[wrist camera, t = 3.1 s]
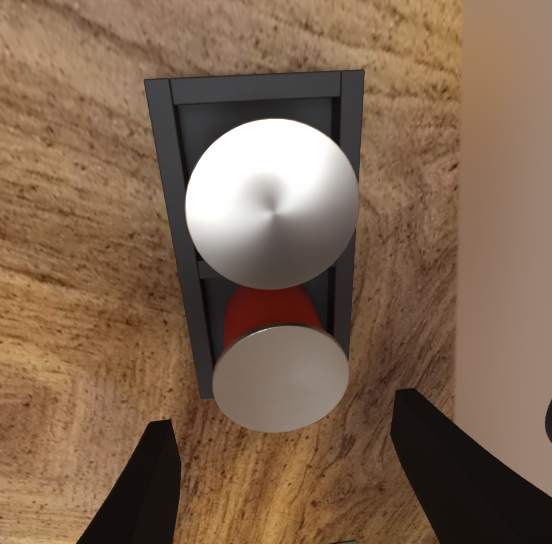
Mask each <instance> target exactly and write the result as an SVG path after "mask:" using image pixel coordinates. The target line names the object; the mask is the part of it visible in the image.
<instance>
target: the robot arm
mask: <svg viewBox="0 0 552 544" xmlns="http://www.w3.org/2000/svg"><path fill="white" fill-rule="evenodd" d="M390 435H391V438H392V441H393V444H394V447H395V450H396V452H397V455H398V458H399V460H400V463H401V465H402V468H403V470H404V472H405V474H406V476H407V478H408V480H409V482H410V484H411V486H412V488H413V490H414V492H415V494H416V496H417V498H418V500H419V502H420V504H421V506H422V508H423V510H424V512H425V514H426V516H427V518H428V520H429V522H430V524H431V526H432V528H433V530H434V532H435V534H436V536H437V538H438V540H439V542H440V544H552V497H550V496H549V495H547V494H546V493H544V492H543V491H542V490H540V489H539V488H537V487H536V486H534V485H533V484H531V483H530V482H528V481H527V480H525V479H524V478H523V477H521V476H520V475H518V474H517V473H516V472H514V471H513V470H511V469H510V468H509V467H507V466H506V465H505V464H503V463H502V462H501V461H500V460H498V459H497V458H496V457H494V456H493V455H492V454H490V453H489V452H488V451H487V450H485V449H484V448H483V447H481V446H480V445H479V444H478V443H477V442H476V441H474V440H473V439H472V438H471V437H470V436H468V435H467V434H466V433H465V432H464V431H462V430H461V429H460V428H459V427H458V426H457V425H455V424H454V423H453V422H452V421H451V420H450V419H448V418H447V417H446V416H445V415H444V414H443V413H442V412H441V411H439V410H438V409H437V408H436V407H435V406H434V405H433V404H432V403H431V402H429V401H428V400H427V399H426V398H425V397H424V396H423V395H422V394H420V393H419V392H418V391H417V390H416V389H415V388H409V389H402V390H396V394H395V402H394V409H393V417H392V424H391V432H390ZM180 481H181V460H180V456H179V451H178V447H177V443H176V439H175V435H174V431H173V426H172V422H171V419H168V420H160V421H153V422H150V423H149V424H148V425H147V427H146V429H145V431H144V433H143V435H142V437H141V439H140V441H139V443H138V445H137V447H136V448H135V450H134V452H133V454H132V456H131V458H130V459H129V461H128V463H127V465H126V467H125V468H124V470H123V472H122V473H121V475H120V477H119V478H118V480H117V482H116V483H115V485H114V487H113V488H112V490H111V492H110V493H109V495H108V497H107V498H106V500H105V501H104V503H103V504H102V506H101V507H100V509H99V510H98V512H97V513H96V515H95V517H94V518H93V520H92V521H91V523H90V524H89V526H88V527H87V529H86V530H85V532H84V533H83V534H82V536H81V537H80V539H79V540H78V541H77V543H76V544H172V543H173V537H174V530H175V524H176V518H177V511H178V505H179V497H180Z"/></svg>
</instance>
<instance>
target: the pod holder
mask: <svg viewBox="0 0 552 544" xmlns="http://www.w3.org/2000/svg"><path fill="white" fill-rule="evenodd" d="M364 75H365V71H364V70H363V69H361V70H342V71H316V72H294V73H272V74H249V75H227V76H204V77H182V78H170V79H169V78H159V79H144V85H145V91H146V97H147V102H148V108H149V113H150V119H151V124H152V130H153V136H154V141H155V147H156V152H157V158H158V163H159V169H160V175H161V180H162V186H163V191H164V197H165V202H166V208H167V213H168V219H169V225H170V230H171V236H172V241H173V247H174V252H175V258H176V264H177V269H178V275H179V280H180V286H181V291H182V297H183V303H184V308H185V314H186V319H187V325H188V330H189V336H190V341H191V347H192V353H193V358H194V364H195V369H196V375H197V380H198V386H199V392H200V397H201V399H209V398H214V394H213V387H212V380H213V372H214V368H215V365H216V363H217V361H218V359H219V357H220V355H221V354H222V352H223V351H224V313H225V308H226V305H227V302H228V300H229V299H230V297H231V295H232V294H233V293H234V292H235V291H236V290H237V289H238V288H239V287H240V286H242V285H240V284H237V283H235V282H233V281H231V280H229V279H227V278H225V277H224V276H222V275H221V274H219V273H218V272H217V271H215V270H214V269H213V268H212V267H211V266H210V265H209V264H208V263H207V262H206V261H205V260H204V259H203V258H202V256H201V255H200V254H199V252H198V251H197V249H196V247H195V245H194V244H193V242H192V240H191V237H190V234H189V232H188V228H187V224H186V219H185V194H186V189H187V184H188V181H189V178H190V175H191V172H192V170H193V168H194V166H195V164H196V162H197V160H198V159H199V158H200V156H201V155H202V153H203V152H204V150H205V149H206V148H207V147H208V146H209V145H210V144H211V143H212V142H213V141H214V140H215V139H216V138H218V137H219V136H220V135H221V134H222V133H224V132H226V131H227V130H229V129H231V128H232V127H234V126H237V125H239V124H241V123H243V122H247V121H250V120H254V119H258V118H266V117H282V118H289V119H294V120H297V121H301V122H304V123H307V124H309V125H311V126H313V127H315V128H317V129H319V130H320V131H322V132H323V133H325V134H326V135H328V136H329V137H330V138H331V139H332V140H333V141H334V142H336V143H337V144H338V146H339V147H340V148H341V149H342V150H343V152H344V153H345V155H346V156H347V158H348V159H349V161H350V163H351V165H352V167H353V170H354V172H355V175H356V179H357V182H359V164H360V146H361V128H362V110H363V93H364ZM355 236H356V227H355V230H354V232H353V235H352V237H351V239H350V241H349V243H348V245H347V247H346V248H345V249H344V251H343V252H342V254H341V255H340V256H339V257H338V259H337V260H336V261H335V262H334V263H333V264H332V265H331V266H330V267H328V268H327V269H326V270H325V271H323V272H322V273H321V274H319V275H318V276H316V277H314V278H312V279H311V280H309V281H306V282H304V283H301V284H299V285H301V286H302V287H303V288H304V289H305V290H306V292H307V293H308V295H309V296H310V298H311V301H312V303H313V306H314V308H315V311H316V313H317V316H318V318H319V321H320V323H321V326H322V328H323V330H324V331H325V332H327V333H328V334H330V335H331V336H332V337H333V338H334V339H336V341H337V342H338V343H339V344H340V346H341V347H342V349H343V351H344V353H345V355H346V357H347V360H348V361H349V343H350V325H351V308H352V290H353V272H354V254H355Z"/></svg>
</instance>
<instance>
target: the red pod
mask: <svg viewBox="0 0 552 544" xmlns="http://www.w3.org/2000/svg"><path fill="white" fill-rule="evenodd" d="M349 376H350V371H349V364H348V360H347V357H346V355H345V353H344V351H343V349H342V347H341V346H340V344H339V343H338V342H337V341H336V339H334V338H333V337H332V336H331V335H330V334H328V333H327V332H325V331H324V330H323V328H322V326H321V323H320V321H319V318H318V316H317V313H316V311H315V308H314V306H313V303H312V301H311V298H310V296H309V295H308V293H307V292H306V290H305V289H304V288H303V287H302V286H301V285H296V286H292V287H288V288H282V289H269V290H267V289H256V288H251V287H247V286H243V285H242V286H240V287H239V288H238V289H237V290H236V291H235V292H234V293H233V294H232V295H231V297H230V299H229V300H228V302H227V305H226V308H225V313H224V351H223V352H222V354H221V355H220V357H219V359H218V361H217V363H216V365H215V368H214V372H213V380H212V387H213V394H214V398H215V401H216V403H217V405H218V407H219V408H220V410H221V411H222V412H223V413H224V414H225V415H226V416H227V417H228V418H229V419H230V420H231V421H233V422H235V423H236V424H238V425H240V426H242V427H244V428H247V429H250V430H254V431H258V432H266V433H280V432H288V431H293V430H297V429H301V428H303V427H306V426H309V425H311V424H313V423H315V422H317V421H318V420H320V419H322V418H323V417H324V416H326V415H327V414H328V413H330V412H331V411H332V410H333V409H334V408H335V407H336V405H337V404H338V403H339V402H340V400H341V399H342V397H343V396H344V394H345V391H346V389H347V386H348V383H349Z"/></svg>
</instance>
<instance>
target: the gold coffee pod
mask: <svg viewBox="0 0 552 544" xmlns="http://www.w3.org/2000/svg"><path fill="white" fill-rule="evenodd" d="M359 206H360V197H359V188H358V182H357V179H356V175H355V172H354V170H353V167H352V165H351V163H350V161H349V159H348V158H347V156H346V155H345V153H344V152H343V150H342V149H341V148H340V147H339V146H338V144H337V143H336V142H334V141H333V140H332V139H331V138H330V137H329V136H328V135H326V134H325V133H323V132H322V131H320V130H319V129H317V128H315V127H313V126H311V125H309V124H307V123H304V122H301V121H297V120H294V119H289V118H282V117H266V118H258V119H254V120H250V121H247V122H243V123H241V124H239V125H237V126H234V127H232V128H231V129H229V130H227V131H226V132H224V133H222V134H221V135H220V136H219V137H218V138H216V139H215V140H214V141H213V142H212V143H211V144H210V145H209V146H208V147H207V148H206V149H205V150H204V152H203V153H202V155H201V156H200V158H199V159H198V160H197V162H196V164H195V166H194V168H193V170H192V172H191V175H190V178H189V181H188V184H187V189H186V194H185V219H186V224H187V228H188V232H189V234H190V237H191V240H192V242H193V244H194V245H195V247H196V249H197V251H198V252H199V254H200V255H201V256H202V258H203V259H204V260H205V261H206V262H207V263H208V264H209V265H210V266H211V267H212V268H213V269H214V270H215V271H217V272H218V273H219V274H221V275H222V276H224V277H225V278H227V279H229V280H231V281H233V282H235V283H237V284H240V285H243V286H247V287H251V288H256V289H267V290H269V289H282V288H288V287H292V286H296V285H299V284H301V283H304V282H306V281H309V280H311V279H312V278H314V277H316V276H318V275H319V274H321V273H322V272H323V271H325V270H326V269H327V268H328V267H330V266H331V265H332V264H333V263H334V262H335V261H336V260H337V259H338V257H339V256H340V255H341V254H342V252H343V251H344V249H345V248H346V247H347V245H348V243H349V241H350V239H351V237H352V235H353V232H354V230H355V227H356V223H357V219H358V214H359Z"/></svg>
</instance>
